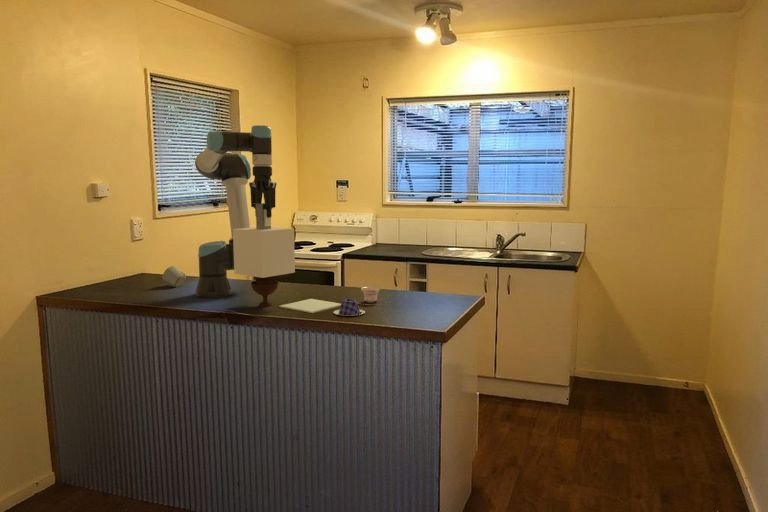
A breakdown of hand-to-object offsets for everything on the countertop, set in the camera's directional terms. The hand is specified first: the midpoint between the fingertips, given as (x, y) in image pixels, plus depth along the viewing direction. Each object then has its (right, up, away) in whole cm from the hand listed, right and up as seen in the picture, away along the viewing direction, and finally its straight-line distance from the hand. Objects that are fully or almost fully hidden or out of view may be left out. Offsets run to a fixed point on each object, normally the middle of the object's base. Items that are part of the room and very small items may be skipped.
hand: (263, 225), depth 236 cm
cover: (0, -19, +2) cm, 19 cm away
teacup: (+42, -32, +10) cm, 54 cm away
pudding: (+35, -34, -10) cm, 50 cm away
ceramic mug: (-51, -27, +48) cm, 75 cm away
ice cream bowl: (0, -32, +4) cm, 32 cm away
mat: (+19, -32, +2) cm, 37 cm away
